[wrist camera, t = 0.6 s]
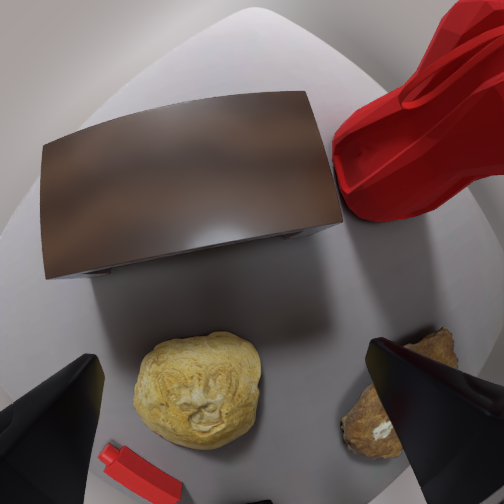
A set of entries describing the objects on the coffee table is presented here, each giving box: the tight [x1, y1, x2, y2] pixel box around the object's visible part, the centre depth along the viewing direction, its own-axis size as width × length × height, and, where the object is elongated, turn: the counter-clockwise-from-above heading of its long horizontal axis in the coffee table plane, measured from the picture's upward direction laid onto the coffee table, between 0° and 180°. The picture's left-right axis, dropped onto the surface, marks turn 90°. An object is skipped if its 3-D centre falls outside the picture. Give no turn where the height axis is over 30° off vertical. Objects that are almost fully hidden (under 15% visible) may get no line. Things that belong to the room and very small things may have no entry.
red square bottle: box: [97, 443, 183, 504], centre depth 17 cm, size 8×3×3 cm, turn 47°
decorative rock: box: [341, 326, 458, 460], centre depth 20 cm, size 11×4×15 cm
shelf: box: [40, 91, 343, 280], centre depth 17 cm, size 9×18×7 cm, turn 101°
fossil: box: [133, 331, 261, 450], centre depth 18 cm, size 11×6×10 cm
